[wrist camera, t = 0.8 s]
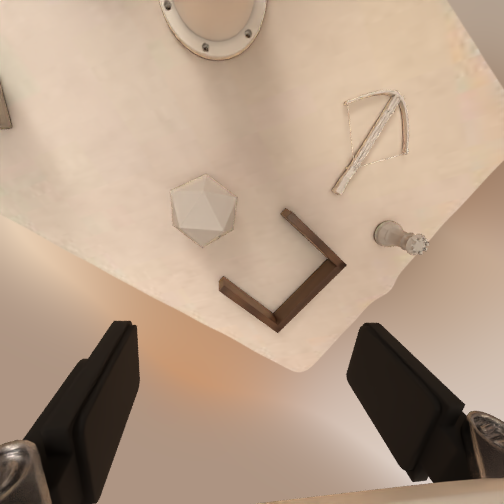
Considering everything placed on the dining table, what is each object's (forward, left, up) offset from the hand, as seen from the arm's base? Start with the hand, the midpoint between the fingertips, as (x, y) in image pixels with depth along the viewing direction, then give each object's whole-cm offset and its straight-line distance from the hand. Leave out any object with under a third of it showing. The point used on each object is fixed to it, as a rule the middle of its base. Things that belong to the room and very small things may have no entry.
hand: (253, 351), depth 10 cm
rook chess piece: (+23, +16, -30) cm, 40 cm away
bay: (+12, -1, -29) cm, 32 cm away
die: (-3, -1, -30) cm, 30 cm away
